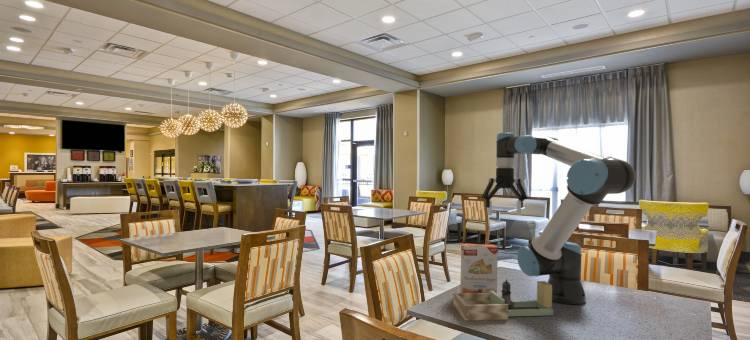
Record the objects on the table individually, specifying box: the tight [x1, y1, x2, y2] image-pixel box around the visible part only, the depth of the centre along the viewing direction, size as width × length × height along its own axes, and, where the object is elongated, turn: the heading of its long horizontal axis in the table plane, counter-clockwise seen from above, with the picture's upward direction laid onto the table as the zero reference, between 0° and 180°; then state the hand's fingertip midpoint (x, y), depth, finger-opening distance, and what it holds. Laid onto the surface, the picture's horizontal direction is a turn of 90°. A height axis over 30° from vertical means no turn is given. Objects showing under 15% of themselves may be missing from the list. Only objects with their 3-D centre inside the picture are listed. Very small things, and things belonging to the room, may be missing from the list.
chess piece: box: [500, 278, 515, 310], centre depth 144 cm, size 6×6×12 cm
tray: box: [490, 280, 554, 317], centre depth 144 cm, size 20×10×10 cm, turn 96°
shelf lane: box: [453, 293, 509, 321], centre depth 143 cm, size 15×13×5 cm
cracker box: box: [459, 243, 499, 294], centre depth 162 cm, size 14×6×21 cm, turn 88°
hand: (504, 215), depth 176 cm, fingers open, 13 cm apart
